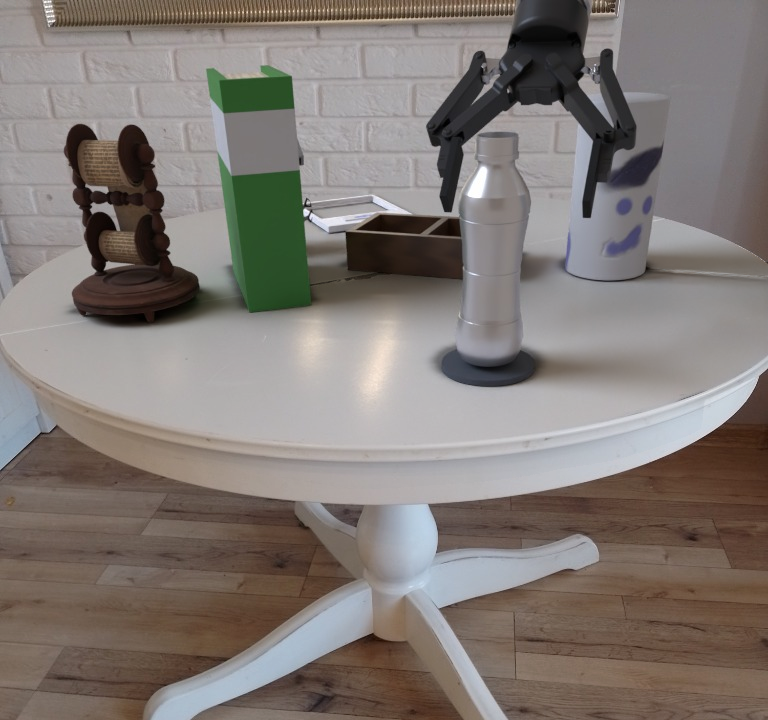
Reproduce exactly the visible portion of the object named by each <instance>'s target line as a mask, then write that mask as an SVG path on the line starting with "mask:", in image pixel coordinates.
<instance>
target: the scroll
mask: <svg viewBox="0 0 768 720" xmlns="http://www.w3.org/2000/svg"><path fill="white" fill-rule="evenodd" d="M63 154H64V156H65V158H66V159H67V161H68V167H70V168H71V170H72V175H71V179H72V184H73V185H74V186H75V188H74V189H73V190H72V199H73V201H74V203H75V204H76V205H77V206H79V207H78V209H79V210H81V211H82V215H81V216H82V217H81V223H82V225H83V227H84V228H85V230H84V232H83V240H84V241H85V243H86V248H87V250H88V252H89V254H90V256H91V259H90V265H91V267H92V269H94V270H95V272H94V273H93V274H91V275H89V276H87V277H86V278H84V279H83V280H81V282H80V283H79V284H77V285H76V286H74V287H73V289H72V291H71V298H72V301H73V305H74V306H75V307H76V310H77V312H78V313H79V315H81V316H82V317H84V316H86V315H87V313H90V314H94V315H104V316H105V315H107V316H122V315H124V316H126V315H136V314H144V317H145V319H146V321H147V322H148V323H150V324H151V323H153V322H154V320H155V312H157V311H161V310H164V309H168V308H169V309H170V308H172V307H176V306H178V305H180V304H183V303H186V302H188V301H190V300H191V299H194V298H196V297H197V295H198V294H199V292H200V289H201V287H200V282H199V281H200V280H199V277H198V275H197V274H195V273H194V272H192V271H190V270H187V269H185V268H184V267H180V266H176V265H174V264H173V262H172V261H171V259H170V257H169V256H170V255H171V254H172V253H171V251H170V250H168V249H169V248H170V246H171V239H170V237H169V235H168V234H167V233H165V231H166V229H167V228H166V223H165V221H164V218H163V216H162V215H161V213H163V211H164V210H163V208H164V206H165V195H164V193H162V191H161V190H158V189H157V188H158V185H159V182H158V179H157V177H156V174H155V172H154V169H155V168H156V164H154V163H153V161H154V160H155V156H156V155H155V154H156V153H155V150H154V148H153V147H152V146H151V145H150V143H149V140H148V138H147V136H146V134H145V133H144V131H143V130H142V128H141V127H139V126H138V125H136V124H127V125H125V126H124V127H123V128H122V129H121V131H120V133H119V135H118V139H117V140H110V139H109V140H105V139H103V140H102V139H101V140H100V139H98V137H97V135H96V133H95V132H94V130H93V129H92V128H91V127H90V126H89V125H87V124H84V123H76V124H74V125H73V126H71V127H70V129H69V130H68V133H67V134H66V139H65V145H64V147H63ZM86 185H88V186H91V187H107V192H103V191H101V190H94V191H92V189H91V188H89V187H88V186H86ZM105 203H107V204H108V205H109V206H112V207H113V210H114V213H115V217H116V220H117V223H118V227H119V230H118V229H117V225H116V224H115V221H114V220H113V218H112V216H110V215H109V214H108V213H106V212H104V211H95V212H94V213H93V212H92V210H91V209H92V208H93V204H95V205H102V204H105ZM108 262H109V263H114V264H115V263H116V264H126V265H120V266H115V267H112V268H108V269H106V266H107V263H108Z"/></svg>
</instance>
